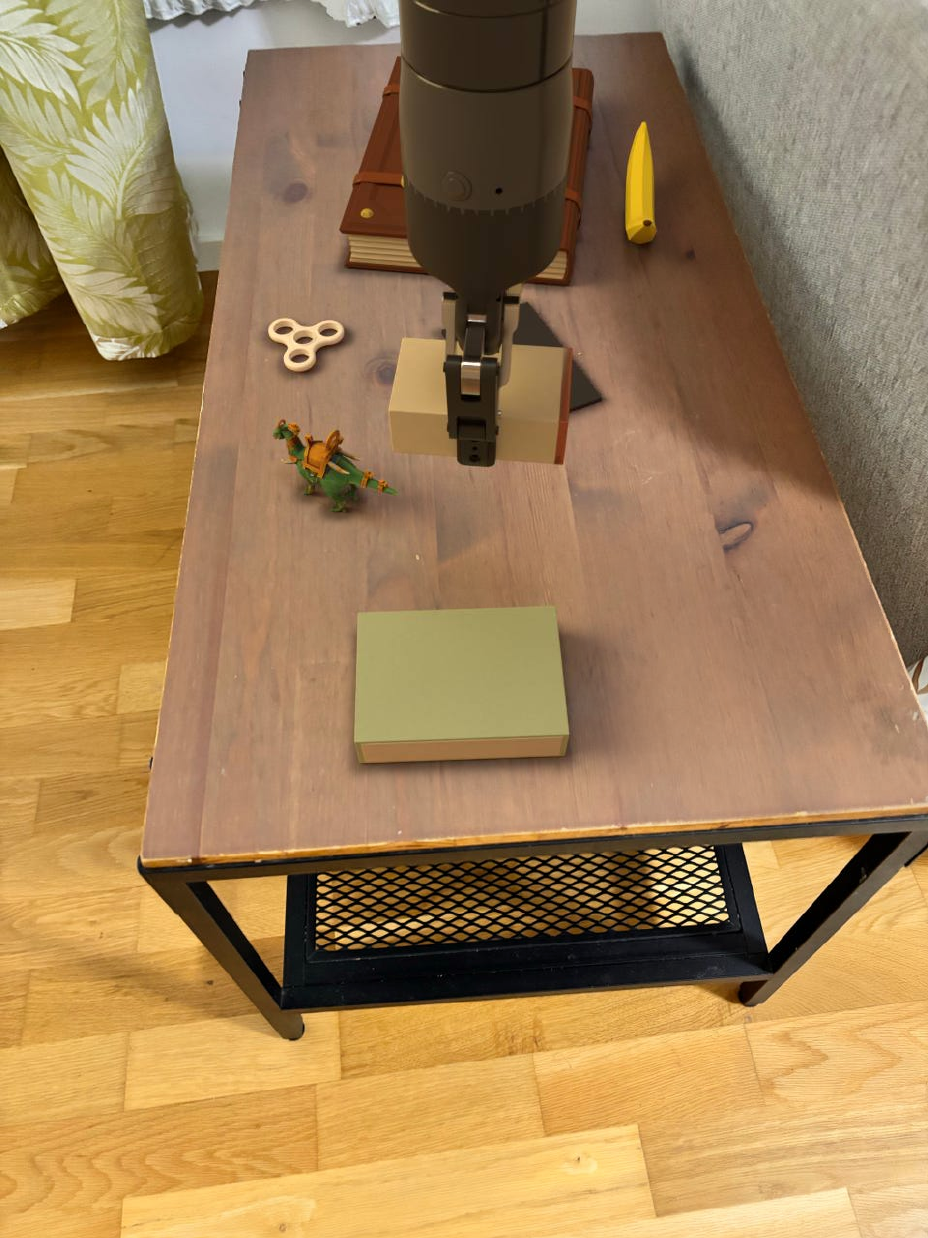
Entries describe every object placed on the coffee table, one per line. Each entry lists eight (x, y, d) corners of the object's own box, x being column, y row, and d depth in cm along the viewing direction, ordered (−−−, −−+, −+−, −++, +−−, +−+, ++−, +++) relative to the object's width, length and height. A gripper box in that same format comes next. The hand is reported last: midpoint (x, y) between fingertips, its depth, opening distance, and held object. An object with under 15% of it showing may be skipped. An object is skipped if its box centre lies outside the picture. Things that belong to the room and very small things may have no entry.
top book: (567, 391, 57) (572, 347, 54) (563, 465, 54) (568, 422, 51) (406, 380, 57) (402, 336, 54) (392, 452, 54) (387, 409, 51)
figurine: (295, 459, 77) (277, 386, 70) (412, 520, 74) (407, 449, 67) (271, 482, 76) (251, 411, 69) (390, 546, 72) (382, 477, 65)
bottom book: (552, 631, 68) (555, 605, 65) (565, 757, 63) (569, 735, 60) (362, 637, 68) (357, 612, 65) (359, 764, 62) (353, 743, 60)
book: (342, 267, 90) (335, 222, 86) (397, 94, 107) (394, 48, 103) (573, 287, 89) (578, 241, 84) (593, 107, 105) (598, 61, 101)
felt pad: (601, 400, 81) (602, 397, 80) (510, 433, 79) (510, 430, 78) (527, 304, 87) (527, 301, 87) (441, 333, 85) (441, 329, 85)
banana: (650, 166, 99) (660, 107, 94) (652, 281, 89) (664, 222, 84) (623, 165, 99) (632, 106, 94) (622, 280, 89) (632, 221, 84)
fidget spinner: (346, 325, 86) (345, 319, 85) (336, 374, 82) (335, 368, 82) (272, 322, 86) (270, 315, 85) (259, 371, 83) (257, 364, 82)
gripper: (561, 260, 37) (536, 519, 52) (575, 72, 45) (550, 342, 59) (378, 249, 38) (403, 508, 52) (422, 64, 45) (434, 335, 60)
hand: (481, 419), depth 55 cm, fingers closed on top book, 6 cm apart
